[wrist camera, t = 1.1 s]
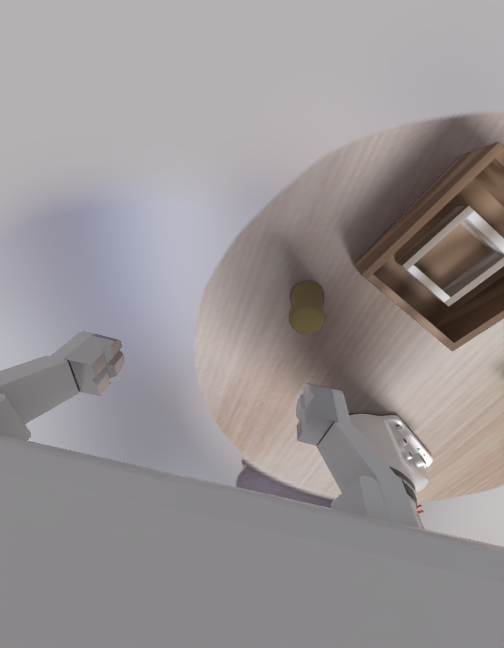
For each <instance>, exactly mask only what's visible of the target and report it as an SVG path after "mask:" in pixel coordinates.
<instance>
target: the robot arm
mask: <svg viewBox="0 0 504 648" xmlns="http://www.w3.org/2000/svg"><path fill="white" fill-rule="evenodd" d="M121 347H122V344H121V341H120V340H117V339H113V338H110V337H106V336H102V335H97V334H93V333H89V332H85V331H83V332H80V333H78V334H77V335H76V336H75V337H73V338H72V339H71V340H70V341H69V342H67V343H66V344H65V345H64V346H62V347H61V348H60V349H59V350H57V351H56V352H55V353H54V354H53V355H51V356H44V357H41V358H38V359H35V360H32V361H29V362H26V363H23V364H20V365H17V366H15V367H11V368H8V369H5V370H2V371H0V648H504V547H502V546H497V545H492V544H488V543H483V542H479V541H475V540H470V539H466V538H461V537H457V536H452V535H448V534H443V533H439V532H434V531H430V530H425V529H424V527H423V524H422V522H421V519H420V517H419V513H422V512H424V511H423V510H421V511H417V510H419V509H420V508H421V507H422V505H418V506H417V498H416V497H417V495H416V493H417V492H419V491H420V490H422V489H423V488H424V487H425V486H426V485H427V483H428V476H427V473H426V471H425V469H426V468H428V467H429V466H430V465H431V463H432V461H433V459H432V456H431V454H430V453H429V452H428V451H427V450H426V448H425V447H424V446H423V445H422V444H421V443H420V441H419V440H418V439H417V438H416V437H415V435H414V434H413V433H412V432H411V431H410V429H409V428H408V427H407V426H406V425H405V424H404V422H403V421H402V420H401V419H400V418H399V417H398V416H396V415H386V416H377V415H371V414H354V415H350V416H349V413H348V409H347V405H346V401H345V397H344V393H343V392H342V391H341V390H336V389H332V388H327V387H323V386H318V385H314V384H309V383H307V384H306V385H305V387H304V394H301V395H300V397H299V399H298V402H297V408H296V416H297V418H298V419H299V423H298V424H297V441H300V442H304V443H308V444H312V445H316V446H317V448H318V450H319V452H320V453H321V455H322V457H323V459H324V461H325V463H326V464H327V466H328V468H329V470H330V472H331V473H332V475H333V477H334V479H335V481H336V483H337V484H338V486H339V488H340V490H341V492H342V494H341V495H339V496H338V497H337V498H336V499H335V500H334V501H333V502H332V503H331V507H332V509H331V508H327V507H322V506H318V505H313V504H309V503H304V502H300V501H295V500H291V499H286V498H282V497H277V496H273V495H269V494H264V493H260V492H255V491H251V490H246V489H242V488H237V487H232V486H228V485H224V484H219V483H215V482H210V481H206V480H201V479H197V478H192V477H188V476H183V475H179V474H174V473H170V472H165V471H161V470H156V469H151V468H147V467H142V466H138V465H134V464H129V463H125V462H120V461H115V460H111V459H107V458H102V457H97V456H93V455H89V454H84V453H80V452H75V451H71V450H66V449H61V448H57V447H52V446H48V445H43V444H39V443H35V442H30V441H27V440H28V439H29V438H30V437H31V433H30V431H29V430H28V428H27V427H26V425H25V424H26V423H28V422H29V421H31V420H33V419H35V418H36V417H38V416H40V415H42V414H43V413H45V412H47V411H49V410H50V409H52V408H54V407H56V406H57V405H59V404H61V403H62V402H64V401H66V400H68V399H70V398H71V397H73V396H75V395H77V394H78V393H79V392H83V393H88V394H93V395H98V396H101V394H102V393H103V392H104V391H105V389H106V388H107V387H108V385H109V384H110V378H112V377H114V376H116V375H117V374H118V373H119V371H120V370H121V368H122V366H123V363H124V355H123V353H122V352H121V351H120V348H121Z"/></svg>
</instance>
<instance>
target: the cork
mask: <svg viewBox="0 0 504 648" xmlns="http://www.w3.org/2000/svg"><path fill="white" fill-rule="evenodd" d="M323 299H324V292H323V290H322V288H321V287H320V286H319V285H318V284H317V283H315V282H313V281H302V282H300V283H298V284H296V285H295V286H294V287H293V289H292V291H291V294H290V300H291V305H292V308H291V310H290V313H289V322H290V324H291V326H292V328H293V329H294V330H295V331H297V332H299V333H301V334H313V333H315V332H317V331H318V330H319V329H321V327H322V326H323V324H324V321H325V313H324V310H323V308H322V304H323Z"/></svg>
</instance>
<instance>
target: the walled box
mask: <svg viewBox="0 0 504 648" xmlns="http://www.w3.org/2000/svg"><path fill="white" fill-rule="evenodd" d="M354 266H355V268H356V269H357V270H358V271H359V272H360V273H361V275H362V276H364V277H365V278H366V279H367V280H368V281H369V282H371V283H372V284H373V285H374V286H375V287H377V288H378V289H379V290H380V291H381V292H382V293H384V294H385V295H386V296H387V297H388V298H390V299H391V300H392V301H393V302H394V303H396V304H397V305H398V306H399V307H400V308H401V309H403V310H404V311H405V312H406V313H407V314H409V315H410V316H411V317H412V318H413V319H414V320H416V321H417V322H418V323H419V324H420V325H422V326H423V327H424V328H425V329H426V330H427V331H429V332H430V333H431V334H432V335H433V336H435V337H436V338H437V339H438V340H439V341H440V342H442V343H443V344H444V345H445V346H446V347H448V348H449V349H450V350H451V351H454V350H455V349H457V348H458V347H460V346H462V345H463V344H465V343H466V342H468V341H469V340H471V339H472V338H474V337H476V336H477V335H479V334H480V333H482V332H483V331H485V330H487V329H488V328H490V327H491V326H493V325H494V324H496V323H497V322H499V321H501V320H502V319H504V147H503V146H502V145H501V144H500V143H499V142H497V143H494V144H492V145H489V146H486V147H483V148H480V149H478V150H475V151H472V152H469V153H466V154H464V155H461V156H460V157H459V158H458V159H457V160H456V161H455V162H454V163H453V164H452V165H451V166H450V167H449V168H448V169H447V170H446V171H445V172H444V173H443V174H442V175H441V176H440V177H439V178H438V179H437V180H436V181H435V182H434V183H433V184H432V185H431V186H430V187H429V188H428V189H427V190H426V191H425V192H424V193H423V194H422V195H421V196H420V197H419V198H418V199H417V200H416V201H415V202H414V203H413V204H412V205H411V206H410V207H409V208H408V210H407V211H406V212H405V213H404V214H403V215H402V216H401V217H400V218H399V219H398V220H397V221H396V222H395V223H394V224H393V225H392V226H391V227H390V228H389V229H388V230H387V231H386V232H385V233H384V234H383V235H382V236H381V237H380V238H379V239H378V240H377V241H376V242H375V243H374V244H373V245H372V246H371V247H370V248H369V249H368V250H367V251H366V252H365V253H364V254H363V255H362V256H361V257H360V258H359V259H358V260H357V261H356V262H355V264H354Z"/></svg>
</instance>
